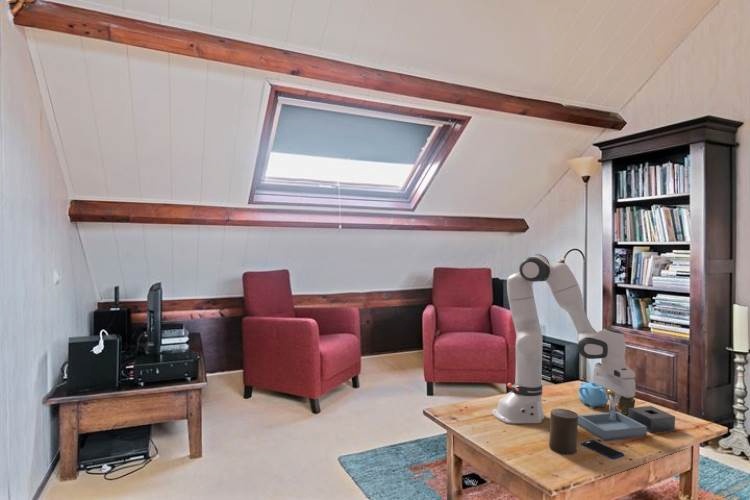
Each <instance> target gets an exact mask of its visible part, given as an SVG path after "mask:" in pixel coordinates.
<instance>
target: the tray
mask: <svg viewBox="0 0 750 500" xmlns="http://www.w3.org/2000/svg"><path fill="white" fill-rule="evenodd" d="M578 427H581V428H582V429H584V430H585V431H587V432H588V433H590V434H592V435H594V436H595V437H597V438H598V439H599V440H602V441H603V442H607V441H608V442H609V441H619V440H626V439H627V440H628V439H636V438H642V437H644V438H645V437H647V436H648V435H647V434H648V432H647V426H645V425H643V424H641V423H639V422H637V421H635V420H633V419H631V418H629V417H628V416H625V415H623V414H621V412H619V411H616V420H610V419H609V412H601V413H600V412H599V413H590V414H578Z"/></svg>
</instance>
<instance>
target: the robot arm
mask: <svg viewBox="0 0 750 500" xmlns="http://www.w3.org/2000/svg"><path fill="white" fill-rule="evenodd" d="M506 279H507V280H506V291H507V299H508V305H509V311H510V315H511V319H512V323H513V326H514V331H515V335H516V338H515V381H514V382H513V383H514V384H513V383H511V382H508V383H507V384H506V386H507V387H508V388H509V389H511V390H510V391H509V392H508V393H507V394H506V395H504V396H503V397H501V398H500V400H498V404H497V408H494V409H492V415H493V416H494V417H495V418H496V419H497V420H499V421H500V422H503V423H506V424H541V423H542V422H543V420H544V419H545V414H544V410H543V408H544V407H543V401H542V400H543V399H542V397H543V385H542V377H543V376H542V373H543V370H542V369H543V334H542V328H541V324H540V320H539V316H538V315H539V314H538V310H537V305H536V300H535V295H534V289H533V283H535V282H546V283H547V285H548V287H549V289H550V291H551V293H552V295H553V297H554V299H555V301H556V303H557V304H558V306H559V307H560V308H561V309H563V310H564V311H565V312H567V314H568V315H569V317H570V319H571V320H572V322H573V325H574V327H575V330H576V333H577V345H576V346H577V351H578V354H580V356H582V357H583V358H585V359H587V360H596V359H598V360H599V359H600V360H601V362H596V363H595V364H594V368H593V374H592V381H593V382H594V384H597V385H599V386H601V387H603V388H604V391H605V394H606V399H608V401H609V393H607V389H608V390H610V391H612V392H615V395H616V396H615V398H613V402H614V403H616V404H617V403H619V399H620V397H621V396H624V397H626V398H632V397H634V398H635V397H636V380H635V378H636V373H635V371H634V370H633V369H631V368H630V367H629V366H628V365H627V364H626V358H625V356H626V349H627V347H626V346H627V345H626V336H625V334H624V333H623V332H622V331H621V330H618V329H616V328H612V327H604V328H603V329H601V330H600V331H596V330H595V329H594V327H592V324H591V323H590V320H589V318H588V316H587V314H586V310H585V308H584V300H583V299H584V298H583V294H582V291H581V287H580V285H579V283H578V281H577V279H576V277H575V274H574V273H573V271H572V270H571V268H570V267H569V266H568V265H567V264H566V263H564V262H557V263H553V264H550V261H549V259H547V257H546V256H544V255H542V254H530V255H529V256H527V257H526V258H524V259H523V260H521V262H520V265H519V272H515V273H513V274H510V275H509V276H508V277H507V278H506Z"/></svg>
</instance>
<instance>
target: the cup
mask: <svg viewBox="0 0 750 500" xmlns="http://www.w3.org/2000/svg"><path fill="white" fill-rule="evenodd" d="M635 404H636V398H635V396H634V397H632V398H626V397H624V396H621V397H620V399H619V403H616V405H617V408H618V409H619V410H620V413H621V414H623V415H625V416H627V417H628V411H629V408H635Z"/></svg>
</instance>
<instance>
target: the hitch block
mask: <svg viewBox="0 0 750 500" xmlns="http://www.w3.org/2000/svg"><path fill="white" fill-rule="evenodd" d="M627 417H629V418H631V419H633V420H635V421H637V422H639V423H641V424H643V425H645V426H647V433H649V434H657V433H665V432H675V428H676V425H675V424H676V416H675V415H674V414H670V413H668V412H666V411H663V410H661V409H659V408H657V407H655V406H652V405H649V406H634V408H629V411H628V416H627Z"/></svg>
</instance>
